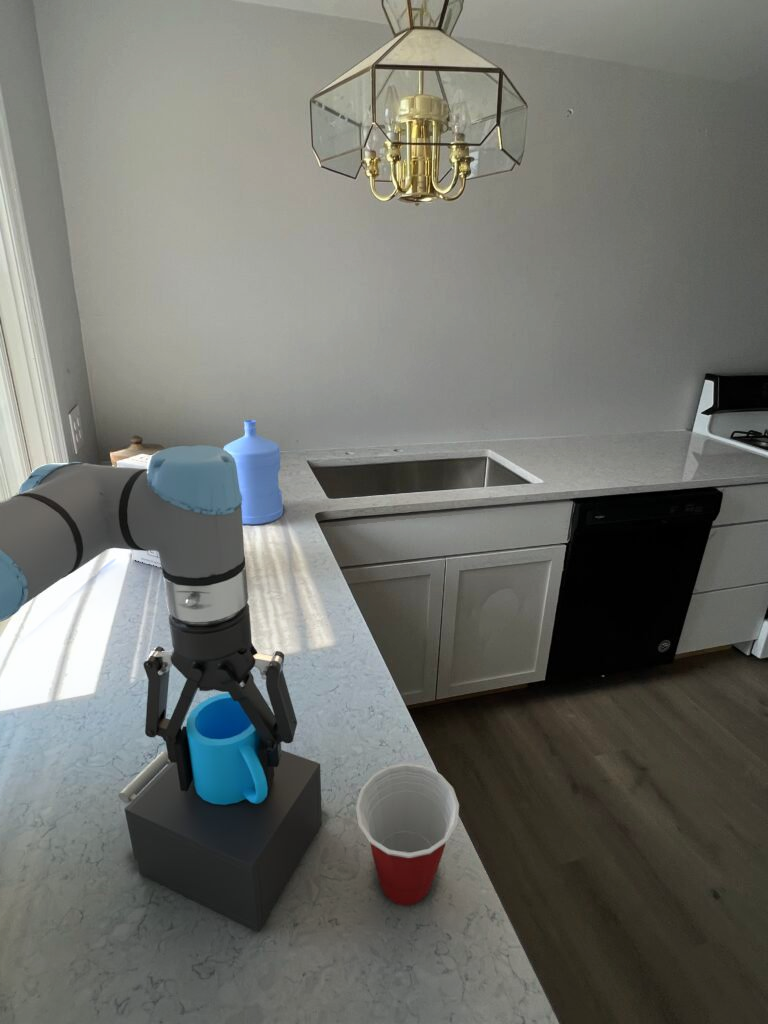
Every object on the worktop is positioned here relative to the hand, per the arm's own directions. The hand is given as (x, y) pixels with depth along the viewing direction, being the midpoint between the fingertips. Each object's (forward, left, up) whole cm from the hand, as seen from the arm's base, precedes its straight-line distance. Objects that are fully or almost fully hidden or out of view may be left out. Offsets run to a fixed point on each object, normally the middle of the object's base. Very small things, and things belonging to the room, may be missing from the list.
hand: (228, 782), depth 62 cm
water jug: (-24, +104, -10) cm, 107 cm away
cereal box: (-35, +72, -11) cm, 81 cm away
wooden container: (-58, +107, -10) cm, 122 cm away
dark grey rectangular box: (0, 0, -10) cm, 10 cm away
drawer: (-4, +1, -9) cm, 10 cm away
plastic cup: (+20, -3, -11) cm, 23 cm away
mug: (+1, 0, 0) cm, 1 cm away
